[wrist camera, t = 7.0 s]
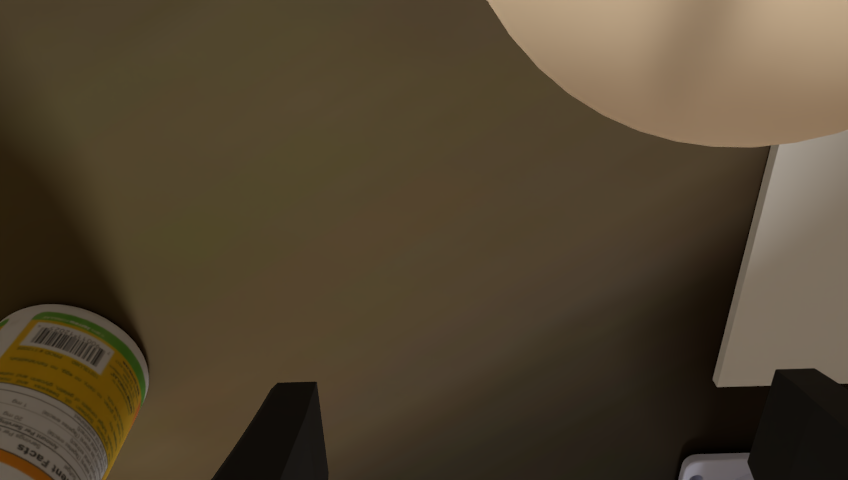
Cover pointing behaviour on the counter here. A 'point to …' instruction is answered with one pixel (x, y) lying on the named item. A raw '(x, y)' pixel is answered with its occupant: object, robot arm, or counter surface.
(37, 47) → the counter surface
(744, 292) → the mat
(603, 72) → the lid
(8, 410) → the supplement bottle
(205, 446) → the counter surface
